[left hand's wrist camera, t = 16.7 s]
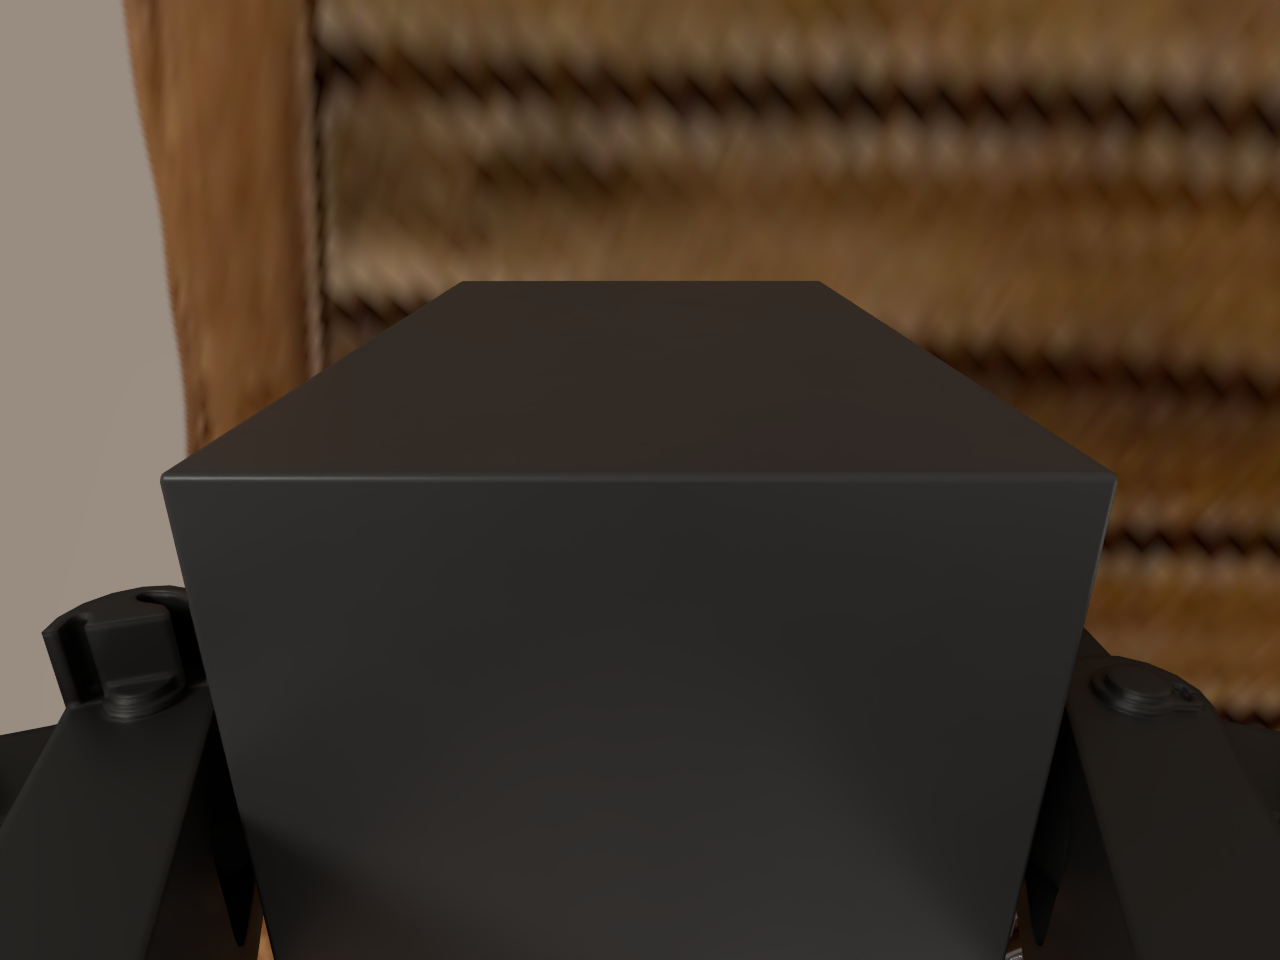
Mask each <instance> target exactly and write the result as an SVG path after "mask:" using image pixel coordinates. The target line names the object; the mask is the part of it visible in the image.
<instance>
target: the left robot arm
mask: <svg viewBox="0 0 1280 960" xmlns="http://www.w3.org/2000/svg"><path fill="white" fill-rule="evenodd" d="M42 635H43V639H44V642H45V645H46V648H47V651H48V654H49V657H50V660H51V663H52V666H53V670H54V673H55V676H56V679H57V682H58V685H59V688H60V691H61V694H62V697H63V700H64V703H65V707H66V709H65V711H64V713H63V715H62V717H61V718H60V720H59V722H58V724H56V725H52V726H47V727H42V728H36V729H31V730H26V731H21V732H15V733H10V734H5V735H0V960H257V957H258V950H259V943H260V935H261V928H262V921H263V911H262V907H261V903H260V898H259V894H258V890H257V886H256V882H255V877H254V873H253V869H252V865H251V861H250V856H249V852H248V848H247V844H246V840H245V836H244V831H243V827H242V823H241V819H240V815H239V810H238V806H237V802H236V798H235V794H234V789H233V785H232V781H231V777H230V773H229V769H228V764H227V760H226V756H225V752H224V748H223V743H222V739H221V735H220V731H219V727H218V722H217V718H216V714H215V710H214V706H213V702H212V697H211V693H210V689H209V685H208V681H207V676H206V672H205V668H204V664H203V660H202V655H201V651H200V647H199V643H198V639H197V634H196V630H195V626H194V622H193V618H192V614H191V609H190V605H189V601H188V597H187V593H186V588H182V587H177V586H170V585H168V586H149V587H139V588H135V589H130V590H125V591H120V592H116V593H111V594H109V595H106V596H103V597H100V598H97V599H95V600H92V601H89V602H86V603H83V604H81V605H79V606H78V607H76V608H74V609H72V610H70V611H69V612H67V613H65V614H63V615H61V616H59V617H58V618H57V619H55V620H54V621H53V622H52V623H51V624H50V625H49V626H48V627H47V628H46V629H45V630H44V631H43V632H42ZM1016 919H1018V926H1019V931H1018V932H1016V933H1013V934H1012V932H1013V928H1014V924H1015V920H1016ZM1013 928H1012V932H1011V936H1010V940H1009V945H1008V949H1007V953H1006V957H1005V960H1280V731H1274V730H1269V729H1264V728H1259V727H1253V726H1248V725H1243V724H1238V723H1232V722H1228V721H1224V720H1221V719H1220V717H1219V715H1218V713H1217V711H1216V709H1215V708H1214V706H1213V705H1212V704H1211V703H1210V702H1209V701H1208V699H1207V698H1206V697H1205V696H1204V695H1203V694H1202V693H1201V692H1200V690H1198V689H1197V688H1195V687H1194V686H1192V685H1191V684H1189V683H1187V682H1186V681H1184V680H1183V679H1181V678H1180V677H1178V676H1177V675H1175V674H1172V673H1170V672H1168V671H1165V670H1163V669H1161V668H1158V667H1156V666H1153V665H1151V664H1149V663H1145V662H1141V661H1137V660H1133V659H1129V658H1125V657H1120V656H1111V655H1110V654H1109V653H1108V652H1107V651H1106V650H1105V649H1104V648H1103V647H1102V646H1101V645H1100V644H1099V643H1098V642H1097V641H1096V640H1095V639H1094V638H1093V636H1092V635H1091V634H1090V633H1089V632H1088V631H1087V630H1086V629H1085V628H1084V627H1083V631H1082V635H1081V640H1080V644H1079V648H1078V652H1077V656H1076V661H1075V665H1074V669H1073V673H1072V678H1071V682H1070V686H1069V690H1068V695H1067V699H1066V703H1065V707H1064V712H1063V716H1062V720H1061V724H1060V729H1059V733H1058V737H1057V741H1056V745H1055V750H1054V754H1053V758H1052V762H1051V767H1050V771H1049V775H1048V779H1047V784H1046V788H1045V792H1044V796H1043V801H1042V805H1041V809H1040V813H1039V818H1038V822H1037V826H1036V830H1035V834H1034V839H1033V843H1032V847H1031V851H1030V856H1029V860H1028V864H1027V868H1026V873H1025V877H1024V881H1023V885H1022V890H1021V894H1020V898H1019V902H1018V907H1017V911H1016V915H1015V919H1014V923H1013Z"/></svg>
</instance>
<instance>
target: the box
mask: <svg viewBox="0 0 1280 960" xmlns="http://www.w3.org/2000/svg"><path fill="white" fill-rule="evenodd" d="M1117 483H1118V481H1117V476H1116V474H1115V473H1113V472H1112V471H1110V470H1109V469H1107V468H1106V467H1104V466H1103V465H1101V464H1100V463H1098V462H1096V461H1095V460H1093V459H1092V458H1090V457H1089V456H1087V455H1086V454H1084V453H1083V452H1081V451H1080V450H1078V449H1076V448H1075V447H1073V446H1072V445H1070V444H1069V443H1067V442H1066V441H1064V440H1063V439H1061V438H1060V437H1058V436H1056V435H1055V434H1053V433H1052V432H1050V431H1049V430H1047V429H1046V428H1044V427H1043V426H1041V425H1040V424H1038V423H1036V422H1035V421H1033V420H1032V419H1030V418H1029V417H1027V416H1026V415H1024V414H1023V413H1021V412H1020V411H1018V410H1017V409H1015V408H1013V407H1012V406H1010V405H1009V404H1007V403H1006V402H1004V401H1003V400H1001V399H1000V398H998V397H997V396H995V395H993V394H992V393H990V392H989V391H987V390H986V389H984V388H983V387H981V386H980V385H978V384H977V383H975V382H973V381H972V380H970V379H969V378H967V377H966V376H964V375H963V374H961V373H960V372H958V371H957V370H955V369H953V368H952V367H950V366H949V365H947V364H946V363H944V362H943V361H941V360H940V359H938V358H937V357H935V356H934V355H932V354H930V353H929V352H927V351H926V350H924V349H923V348H921V347H920V346H918V345H917V344H915V343H914V342H912V341H910V340H909V339H907V338H906V337H904V336H903V335H901V334H900V333H898V332H897V331H895V330H894V329H892V328H890V327H889V326H887V325H886V324H884V323H883V322H881V321H880V320H878V319H877V318H875V317H874V316H872V315H870V314H869V313H867V312H866V311H864V310H863V309H861V308H860V307H858V306H857V305H855V304H854V303H852V302H851V301H849V300H847V299H846V298H844V297H843V296H841V295H840V294H838V293H837V292H835V291H834V290H832V289H831V288H829V287H827V286H826V285H824V284H823V283H821V282H819V281H462V282H460V283H459V284H457V285H456V286H454V287H452V288H451V289H449V290H448V291H446V292H445V293H443V294H441V295H440V296H438V297H437V298H435V299H434V300H432V301H431V302H429V303H427V304H426V305H424V306H423V307H421V308H420V309H418V310H417V311H415V312H413V313H412V314H410V315H409V316H407V317H406V318H404V319H403V320H401V321H399V322H398V323H396V324H395V325H393V326H392V327H390V328H389V329H387V330H385V331H384V332H382V333H381V334H379V335H378V336H376V337H375V338H373V339H371V340H370V341H368V342H367V343H365V344H364V345H362V346H361V347H359V348H357V349H356V350H354V351H353V352H351V353H350V354H348V355H347V356H345V357H343V358H342V359H340V360H339V361H337V362H336V363H334V364H333V365H331V366H329V367H328V368H326V369H325V370H323V371H322V372H320V373H318V374H317V375H315V376H314V377H312V378H311V379H309V380H308V381H306V382H304V383H303V384H301V385H300V386H298V387H297V388H295V389H294V390H292V391H290V392H289V393H287V394H286V395H284V396H283V397H281V398H280V399H278V400H276V401H275V402H273V403H272V404H270V405H269V406H267V407H266V408H264V409H262V410H261V411H259V412H258V413H256V414H255V415H253V416H252V417H250V418H248V419H247V420H245V421H244V422H242V423H241V424H239V425H238V426H236V427H234V428H233V429H231V430H230V431H228V432H227V433H225V434H224V435H222V436H220V437H219V438H217V439H216V440H214V441H213V442H211V443H209V444H208V445H206V446H205V447H203V448H202V449H200V450H199V451H197V452H195V453H194V454H192V455H191V456H189V457H188V458H186V459H185V460H183V461H181V462H180V463H178V464H177V465H175V466H174V467H172V468H171V469H169V470H167V471H166V472H164V473H163V474H162V475H161V479H160V484H161V488H162V492H163V496H164V500H165V505H166V509H167V513H168V517H169V521H170V526H171V530H172V534H173V538H174V542H175V547H176V551H177V555H178V559H179V563H180V567H181V572H182V576H183V580H184V584H185V588H186V593H187V597H188V601H189V605H190V609H191V614H192V618H193V622H194V626H195V630H196V634H197V639H198V643H199V647H200V651H201V655H202V660H203V664H204V668H205V672H206V676H207V681H208V685H209V689H210V693H211V697H212V702H213V706H214V710H215V714H216V718H217V722H218V727H219V731H220V735H221V739H222V743H223V748H224V752H225V756H226V760H227V764H228V769H229V773H230V777H231V781H232V785H233V789H234V794H235V798H236V802H237V806H238V810H239V815H240V819H241V823H242V827H243V831H244V836H245V840H246V844H247V848H248V852H249V856H250V861H251V865H252V869H253V873H254V877H255V882H256V886H257V890H258V894H259V898H260V903H261V907H262V911H263V915H264V919H265V924H266V928H267V932H268V936H269V940H270V944H271V949H272V953H273V957H274V960H1005V957H1006V953H1007V949H1008V945H1009V940H1010V936H1011V932H1012V928H1013V923H1014V919H1015V915H1016V911H1017V907H1018V902H1019V898H1020V894H1021V890H1022V885H1023V881H1024V877H1025V873H1026V868H1027V864H1028V860H1029V856H1030V851H1031V847H1032V843H1033V839H1034V834H1035V830H1036V826H1037V822H1038V818H1039V813H1040V809H1041V805H1042V801H1043V796H1044V792H1045V788H1046V784H1047V779H1048V775H1049V771H1050V767H1051V762H1052V758H1053V754H1054V750H1055V745H1056V741H1057V737H1058V733H1059V729H1060V724H1061V720H1062V716H1063V712H1064V707H1065V703H1066V699H1067V695H1068V690H1069V686H1070V682H1071V678H1072V673H1073V669H1074V665H1075V661H1076V656H1077V652H1078V648H1079V644H1080V640H1081V635H1082V631H1083V627H1084V623H1085V618H1086V614H1087V610H1088V606H1089V601H1090V597H1091V593H1092V589H1093V584H1094V580H1095V576H1096V572H1097V567H1098V563H1099V559H1100V555H1101V550H1102V546H1103V542H1104V538H1105V534H1106V529H1107V525H1108V521H1109V517H1110V512H1111V508H1112V504H1113V500H1114V495H1115V491H1116V487H1117Z"/></svg>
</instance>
